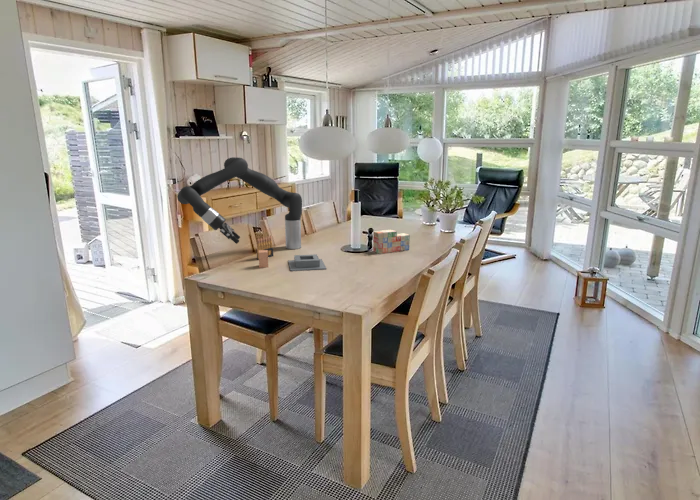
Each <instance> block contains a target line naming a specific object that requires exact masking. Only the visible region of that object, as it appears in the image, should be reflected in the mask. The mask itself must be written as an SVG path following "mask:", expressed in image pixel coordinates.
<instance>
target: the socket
mask: <svg viewBox="0 0 700 500" xmlns="http://www.w3.org/2000/svg"><path fill="white" fill-rule="evenodd" d="M287 262H288V265H289V269H290V272H297V271H299V272H300V271H303V272H304V271H317V270H318V271H319V270H322V271H323V270H327V266H326V265H325V263H324V261H323V258H319V255H318V254H316V253H313V254H297V255H296V254H295V255H293V259H292V260H288V261H287Z"/></svg>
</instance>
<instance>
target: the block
mask: <svg viewBox="0 0 700 500" xmlns="http://www.w3.org/2000/svg"><path fill="white" fill-rule="evenodd" d="M258 266H259V269H260V268H261V269H262V268H269V258H268V250H259V260H258Z"/></svg>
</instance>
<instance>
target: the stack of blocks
mask: <svg viewBox="0 0 700 500" xmlns="http://www.w3.org/2000/svg"><path fill="white" fill-rule="evenodd" d="M372 242H373V244H372V245H373V247H372V249H373V250H372V251H373V252H374V253H376V254H378V253H379V254H386V253H394V252H395V251H396V252H403V250H404V251H409V250H410V242H411V241H410V234H408V233H404V232H402V233H398V232H397V231H396V230H393V229H383V230H374V231H373V239H372ZM396 252H395V253H396Z"/></svg>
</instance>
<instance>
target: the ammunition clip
mask: <svg viewBox="0 0 700 500" xmlns="http://www.w3.org/2000/svg"><path fill="white" fill-rule="evenodd" d="M256 246H257V248H256V259H257V260H258V261H259V250H268V257H269V258H272V257H274V247H273V239H272V235H267V236H266V235H265V236H262V237H260V238H259V237H258V238H257V245H256Z"/></svg>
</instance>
